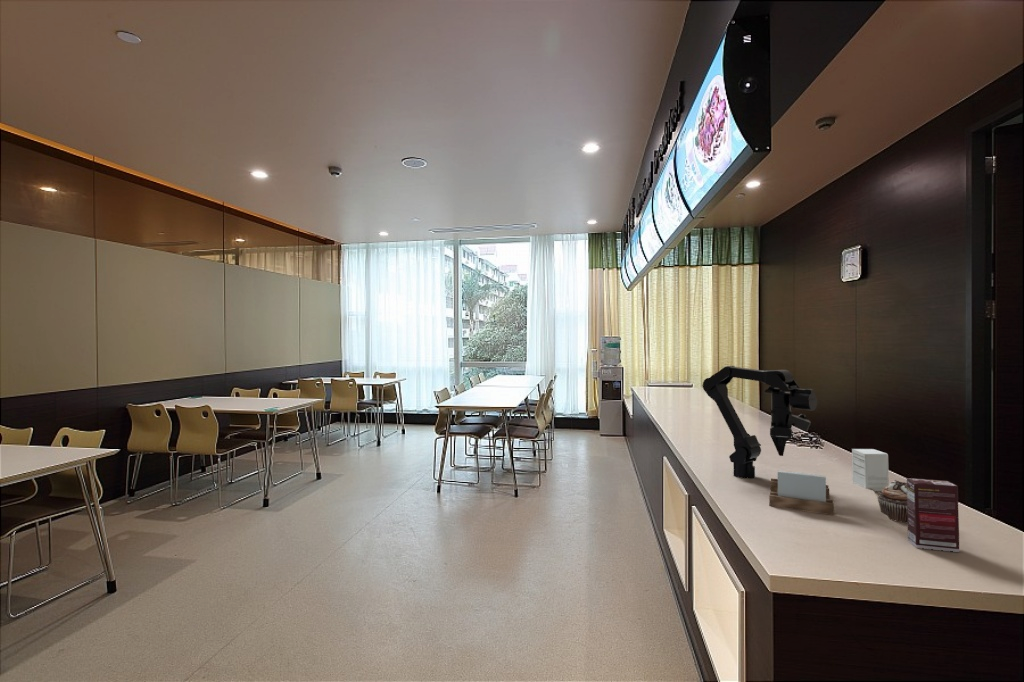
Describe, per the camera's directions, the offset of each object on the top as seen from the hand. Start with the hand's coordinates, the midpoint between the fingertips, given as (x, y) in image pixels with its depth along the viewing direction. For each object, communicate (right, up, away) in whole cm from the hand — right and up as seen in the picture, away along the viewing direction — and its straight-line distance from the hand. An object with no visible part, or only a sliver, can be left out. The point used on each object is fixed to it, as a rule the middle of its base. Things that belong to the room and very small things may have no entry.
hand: (781, 452), depth 160 cm
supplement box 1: (+30, -12, -1) cm, 32 cm away
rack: (-3, -12, -15) cm, 19 cm away
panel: (-6, -11, -21) cm, 25 cm away
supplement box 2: (+11, -12, -45) cm, 48 cm away
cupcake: (+18, -12, -27) cm, 34 cm away
